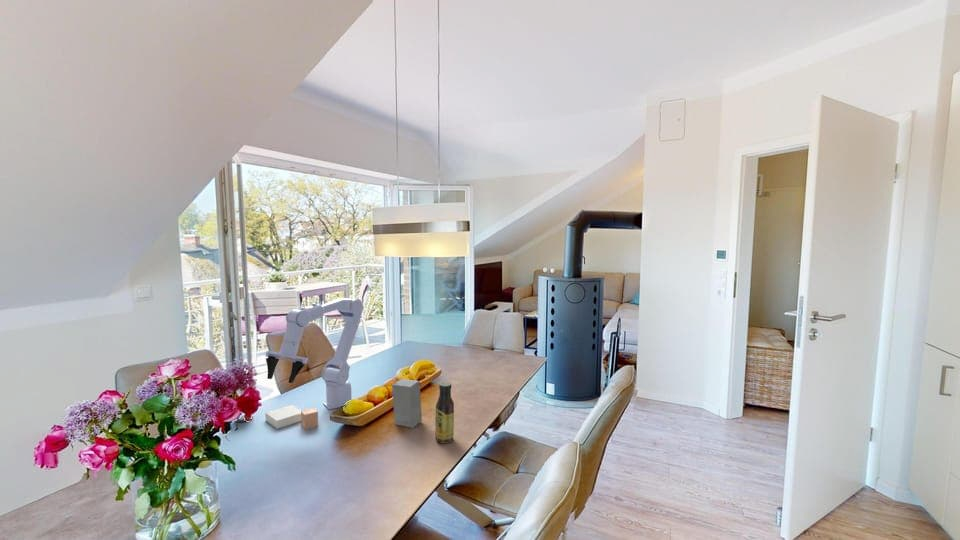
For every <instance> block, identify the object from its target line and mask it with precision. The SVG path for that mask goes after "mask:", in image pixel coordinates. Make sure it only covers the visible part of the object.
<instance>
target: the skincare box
mask: <svg viewBox="0 0 960 540" xmlns="http://www.w3.org/2000/svg"><path fill="white" fill-rule="evenodd" d="M391 387H392V401H393V419H394V425H397V426H400V427H406V428H411V429H413V428H415V426H417V425H419V424H420V423H421V422H422V421H423V415H422V414H423V413H422V401H421V400H422V399H421V388H420V387H421V385H420V381H419V380H415V379H414V380H412V379H407V378H406V379H405V378H401V379H399V380H398V381H395V382H394V383H392V385H391ZM418 423H419V424H418Z"/></svg>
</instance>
